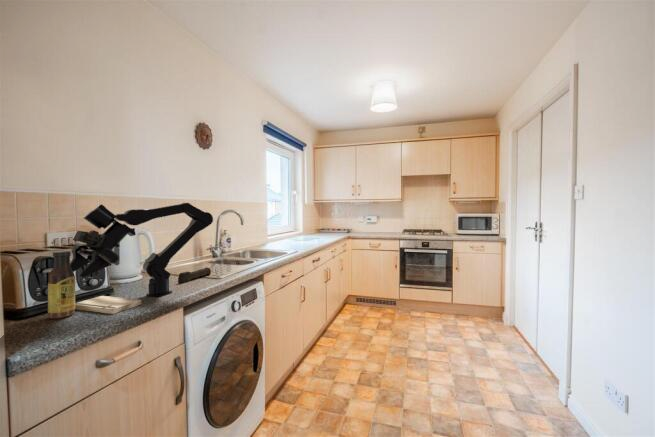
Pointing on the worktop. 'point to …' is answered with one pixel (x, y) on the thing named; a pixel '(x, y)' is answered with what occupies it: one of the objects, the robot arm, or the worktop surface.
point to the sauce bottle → (61, 287)
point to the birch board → (107, 304)
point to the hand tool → (192, 275)
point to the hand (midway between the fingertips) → (73, 275)
